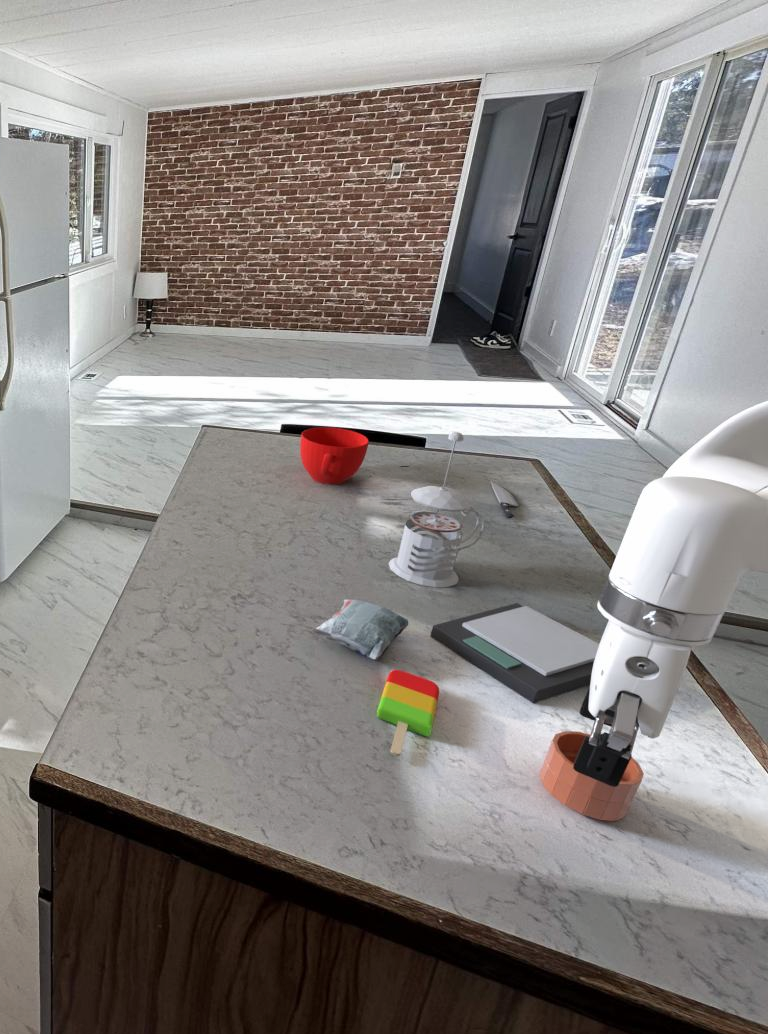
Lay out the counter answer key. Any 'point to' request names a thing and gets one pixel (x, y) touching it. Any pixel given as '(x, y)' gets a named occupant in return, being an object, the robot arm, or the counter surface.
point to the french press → (422, 560)
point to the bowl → (586, 781)
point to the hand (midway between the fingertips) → (596, 747)
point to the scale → (522, 650)
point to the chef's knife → (504, 499)
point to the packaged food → (363, 628)
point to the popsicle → (408, 705)
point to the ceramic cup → (332, 453)
